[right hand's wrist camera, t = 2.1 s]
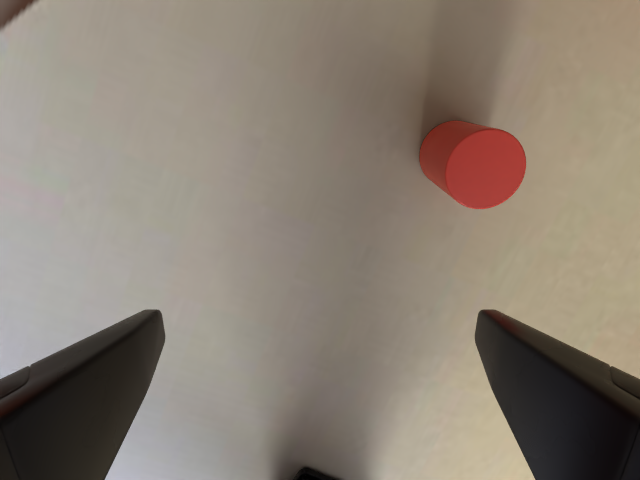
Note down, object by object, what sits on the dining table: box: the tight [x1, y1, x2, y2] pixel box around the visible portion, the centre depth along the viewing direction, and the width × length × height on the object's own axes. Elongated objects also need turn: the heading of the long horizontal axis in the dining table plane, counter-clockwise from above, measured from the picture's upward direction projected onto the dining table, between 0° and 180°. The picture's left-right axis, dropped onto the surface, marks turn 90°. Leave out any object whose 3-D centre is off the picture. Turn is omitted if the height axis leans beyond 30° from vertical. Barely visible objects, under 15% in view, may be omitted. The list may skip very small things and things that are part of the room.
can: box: [419, 121, 526, 209], centre depth 20 cm, size 4×4×5 cm
